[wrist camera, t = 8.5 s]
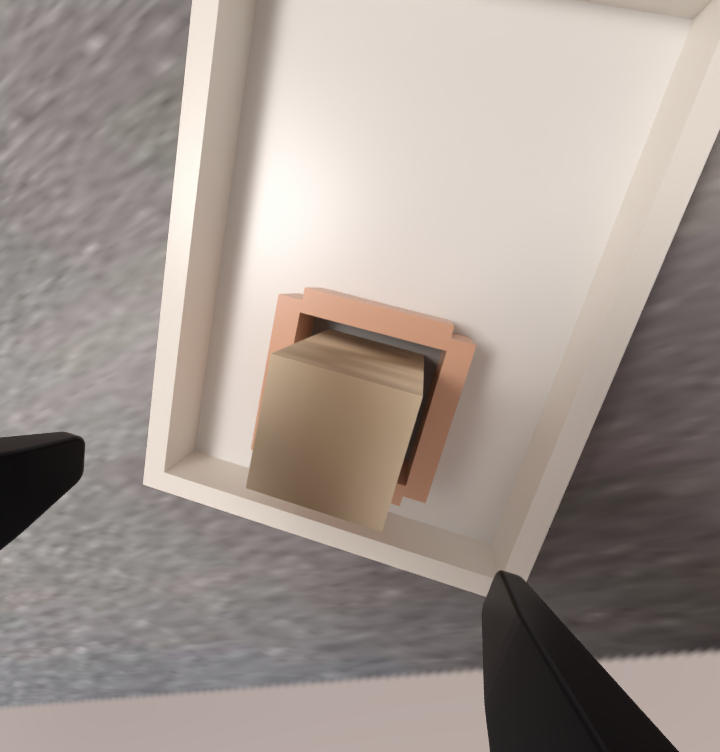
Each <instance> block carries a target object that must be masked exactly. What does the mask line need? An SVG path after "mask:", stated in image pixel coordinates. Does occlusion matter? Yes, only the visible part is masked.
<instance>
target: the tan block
mask: <svg viewBox="0 0 720 752" xmlns="http://www.w3.org/2000/svg"><path fill="white" fill-rule="evenodd" d="M423 378H424V354H421V353H417V352H413V351H410V350H406V349H402V348H399V347H395V346H391V345H388V344H384V343H380V342H377V341H373V340H369V339H366V338H362V337H358V336H355V335H351V334H347V333H343V332H340V331H336V330H332V329H328V330H325V331H323V332H321V333H318V334H316V335H314V336H311V337H309V338H307V339H304V340H302V341H299V342H297V343H295V344H292V345H290V346H288V347H285V348H283V349H280V350H278V351H276V352H273V353H271V356H270V361H269V366H268V372H267V377H266V382H265V388H264V393H263V398H262V404H261V409H260V414H259V420H258V425H257V430H256V436H255V441H254V447H253V452H252V457H251V463H250V468H249V473H248V479H247V484H246V488H247V489H250V490H253V491H256V492H259V493H262V494H265V495H268V496H271V497H275V498H278V499H281V500H284V501H287V502H290V503H293V504H296V505H299V506H302V507H305V508H308V509H312V510H315V511H318V512H321V513H324V514H327V515H330V516H333V517H336V518H339V519H342V520H345V521H348V522H352V523H355V524H358V525H361V526H364V527H367V528H370V529H373V530H376V531H379V532H382V530H383V527H384V524H385V520H386V517H387V514H388V510H389V507H390V504H391V501H392V497H393V494H394V491H395V487H396V484H397V481H398V477H399V474H400V471H401V467H402V464H403V461H404V457H405V454H406V451H407V448H408V444H409V441H410V438H411V434H412V431H413V428H414V424H415V421H416V418H417V414H418V411H419V408H420V405H421V401H422V398H423Z"/></svg>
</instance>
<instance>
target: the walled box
mask: <svg viewBox="0 0 720 752" xmlns="http://www.w3.org/2000/svg"><path fill="white" fill-rule="evenodd" d="M719 130H720V0H192V9H191V19H190V29H189V39H188V49H187V58H186V68H185V78H184V88H183V98H182V108H181V117H180V127H179V137H178V147H177V157H176V166H175V176H174V186H173V196H172V206H171V216H170V225H169V235H168V245H167V255H166V265H165V274H164V284H163V294H162V304H161V314H160V324H159V333H158V343H157V353H156V363H155V373H154V382H153V392H152V402H151V412H150V422H149V431H148V441H147V451H146V461H145V471H144V481H143V485H146V486H149V487H152V488H155V489H158V490H161V491H165V492H168V493H171V494H174V495H177V496H180V497H183V498H186V499H189V500H192V501H195V502H198V503H201V504H204V505H207V506H210V507H213V508H216V509H219V510H222V511H226V512H229V513H232V514H235V515H238V516H241V517H244V518H247V519H250V520H253V521H256V522H259V523H262V524H265V525H268V526H271V527H274V528H277V529H280V530H283V531H286V532H290V533H293V534H296V535H299V536H302V537H305V538H308V539H311V540H314V541H317V542H320V543H323V544H326V545H329V546H332V547H335V548H338V549H341V550H344V551H347V552H350V553H354V554H357V555H360V556H363V557H366V558H369V559H372V560H375V561H378V562H381V563H384V564H387V565H390V566H393V567H396V568H399V569H402V570H405V571H408V572H411V573H414V574H418V575H421V576H424V577H427V578H430V579H433V580H436V581H439V582H442V583H445V584H448V585H451V586H454V587H457V588H460V589H463V590H466V591H469V592H472V593H475V594H478V595H482V596H485V597H486V596H487V594H488V591H489V589H490V586H491V583H492V581H493V578H494V576H495V574H496V573H497V572H498V571H499V570H503V571H506V572H510V573H513V574H516V575H519V576H521V577H522V578H523V579H524V580H525V581H526V582H527V579H528V577H529V575H530V572H531V570H532V568H533V565H534V563H535V561H536V558H537V556H538V554H539V551H540V549H541V547H542V544H543V542H544V540H545V537H546V535H547V533H548V530H549V528H550V525H551V523H552V521H553V518H554V516H555V514H556V511H557V509H558V507H559V504H560V502H561V500H562V497H563V495H564V493H565V490H566V488H567V486H568V483H569V481H570V479H571V476H572V474H573V472H574V469H575V467H576V465H577V462H578V460H579V458H580V455H581V453H582V451H583V448H584V446H585V444H586V441H587V439H588V436H589V434H590V432H591V429H592V427H593V425H594V422H595V420H596V418H597V415H598V413H599V411H600V408H601V406H602V404H603V401H604V399H605V397H606V394H607V392H608V390H609V387H610V385H611V383H612V380H613V378H614V376H615V373H616V371H617V369H618V366H619V364H620V362H621V359H622V357H623V355H624V352H625V350H626V347H627V345H628V343H629V340H630V338H631V336H632V333H633V331H634V329H635V326H636V324H637V322H638V319H639V317H640V315H641V312H642V310H643V308H644V305H645V303H646V301H647V298H648V296H649V294H650V291H651V289H652V287H653V284H654V282H655V280H656V277H657V275H658V273H659V270H660V268H661V266H662V263H663V261H664V258H665V256H666V254H667V251H668V249H669V247H670V244H671V242H672V240H673V237H674V235H675V233H676V230H677V228H678V226H679V223H680V221H681V219H682V216H683V214H684V212H685V209H686V207H687V205H688V202H689V200H690V198H691V195H692V193H693V191H694V188H695V186H696V184H697V181H698V179H699V177H700V174H701V172H702V169H703V167H704V165H705V162H706V160H707V158H708V155H709V153H710V151H711V148H712V146H713V144H714V141H715V139H716V137H717V134H718V132H719ZM328 329H332V330H336V331H340V332H343V333H347V334H351V335H355V336H358V337H362V338H366V339H369V340H373V341H377V342H380V343H384V344H388V345H391V346H395V347H399V348H402V349H406V350H410V351H413V352H417V353H421V354H424V378H423V398H422V401H421V405H420V408H419V411H418V414H417V418H416V421H415V424H414V428H413V431H412V434H411V438H410V441H409V444H408V448H407V451H406V454H405V457H404V461H403V464H402V467H401V471H400V474H399V477H398V481H397V484H396V487H395V491H394V494H393V497H392V501H391V504H390V507H389V510H388V514H387V517H386V520H385V524H384V527H383V530H382V532H379V531H376V530H373V529H370V528H367V527H364V526H361V525H358V524H355V523H352V522H348V521H345V520H342V519H339V518H336V517H333V516H330V515H327V514H324V513H321V512H318V511H315V510H312V509H308V508H305V507H302V506H299V505H296V504H293V503H290V502H287V501H284V500H281V499H278V498H275V497H271V496H268V495H265V494H262V493H259V492H256V491H253V490H250V489H247V488H246V484H247V479H248V473H249V468H250V463H251V457H252V452H253V447H254V441H255V436H256V430H257V425H258V420H259V414H260V409H261V404H262V398H263V393H264V388H265V382H266V377H267V372H268V366H269V361H270V356H271V353H273V352H276V351H278V350H280V349H283V348H285V347H288V346H290V345H292V344H295V343H297V342H299V341H302V340H304V339H307V338H309V337H311V336H314V335H316V334H318V333H321V332H323V331H325V330H328Z"/></svg>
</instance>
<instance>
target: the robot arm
mask: <svg viewBox="0 0 720 752" xmlns="http://www.w3.org/2000/svg"><path fill="white" fill-rule="evenodd" d="M84 456H85V442H84V439H83V438H82V437H80V436H77V435H74V434H71V433H68V432H54V433H43V434H33V435H22V436H11V437H1V438H0V550H1V549H3V548H4V547H5V546H6V545H8V544H9V543H10V542H11V541H13V540H14V539H15V538H16V537H17V536H18V535H20V534H21V533H22V532H23V531H24V530H25V529H26V528H28V527H29V526H30V525H31V524H32V523H33V522H34V521H35V520H36V519H38V518H39V517H40V516H41V515H42V514H43V513H44V512H45V511H46V510H48V509H49V508H50V507H51V506H52V505H53V504H54V503H55V502H56V501H57V500H59V499H60V498H61V497H62V496H63V495H64V494H65V493H66V492H67V491H69V490H70V489H71V488H72V487H73V486H74V485H75V484H76V483H77V482H78V481H79V480H80V478H81V477H82V474H83V471H84ZM482 638H483V675H484V702H485V713H486V722H487V729H488V738H489V746H490V752H679V751H678V750H677V749H676V748H675V747H674V746H673V745H672V744H671V742H670V741H669V740H668V739H667V738H666V737H665V736H664V735H663V734H662V732H661V731H660V730H659V729H658V728H657V727H656V726H655V725H654V724H653V722H652V721H651V720H650V719H649V718H648V717H647V716H646V715H645V714H644V712H643V711H642V710H640V708H639V707H638V706H637V705H636V704H635V702H633V700H632V699H631V698H630V697H629V696H628V695H627V694H626V692H625V691H624V690H623V689H622V688H621V687H620V686H619V685H618V684H617V682H616V681H615V680H614V679H613V678H612V677H611V676H610V675H609V674H608V672H606V670H605V669H604V668H603V667H602V666H601V665H600V664H599V662H598V661H597V660H596V659H595V658H594V657H593V656H592V655H591V654H590V653H589V651H588V650H587V649H586V648H585V647H584V646H583V645H582V644H581V643H580V641H579V640H578V639H577V638H576V637H575V636H574V635H573V634H572V633H571V631H570V630H569V629H568V628H567V627H566V626H565V625H564V624H563V623H562V621H561V620H560V619H559V618H558V617H557V616H556V615H555V614H554V613H553V611H552V610H551V609H550V608H549V607H548V606H547V605H546V604H545V603H544V601H543V600H542V599H541V598H540V597H539V596H538V595H537V594H536V593H535V591H534V590H533V589H532V588H531V587H530V586H529V585H528V584H527V583H526V581H525V580H524V579H523V578H522V577H521V576H519V575H516V574H513V573H510V572H506V571H503V570H499V571H498V572H497V573H496V574H495V576H494V578H493V581H492V583H491V586H490V589H489V591H488V594H487V596H486V599H485V601H484V604H483V609H482Z"/></svg>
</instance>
